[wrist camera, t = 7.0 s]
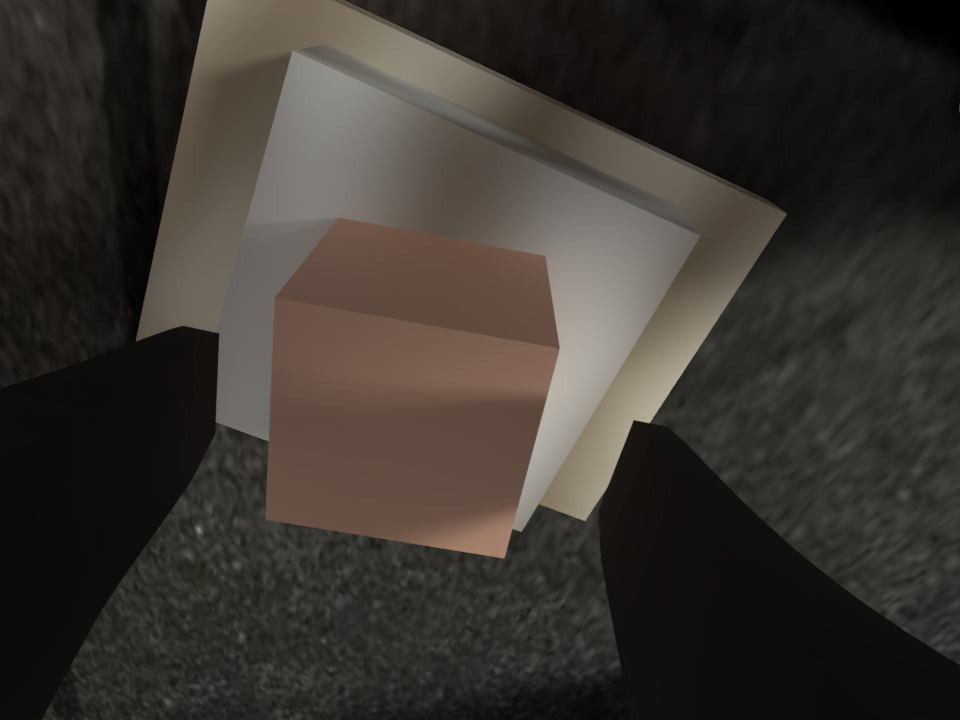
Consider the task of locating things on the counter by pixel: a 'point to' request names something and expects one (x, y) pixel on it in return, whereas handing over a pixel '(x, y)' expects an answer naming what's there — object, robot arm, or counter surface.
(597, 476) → the base
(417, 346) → the cube
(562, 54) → the counter surface
